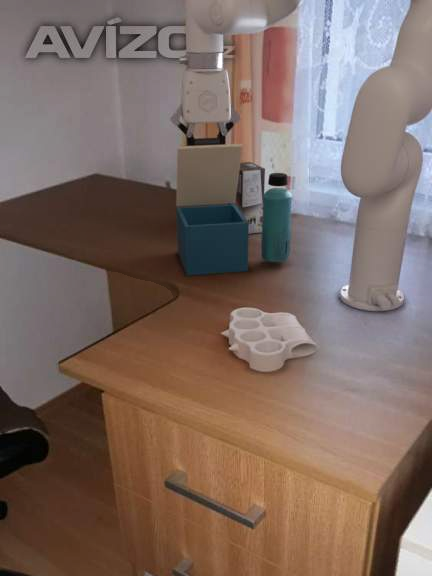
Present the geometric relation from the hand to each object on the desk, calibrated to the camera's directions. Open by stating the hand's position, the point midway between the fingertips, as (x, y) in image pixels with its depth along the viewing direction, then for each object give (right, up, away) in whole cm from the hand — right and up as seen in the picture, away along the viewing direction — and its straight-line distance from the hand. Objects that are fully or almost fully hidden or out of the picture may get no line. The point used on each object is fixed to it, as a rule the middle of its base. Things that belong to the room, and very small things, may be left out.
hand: (206, 154), depth 134 cm
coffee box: (+10, -10, +28) cm, 31 cm away
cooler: (+1, -22, +7) cm, 23 cm away
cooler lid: (0, -5, 0) cm, 5 cm away
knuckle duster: (+11, -44, -27) cm, 53 cm away
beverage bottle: (+16, -23, +6) cm, 29 cm away
